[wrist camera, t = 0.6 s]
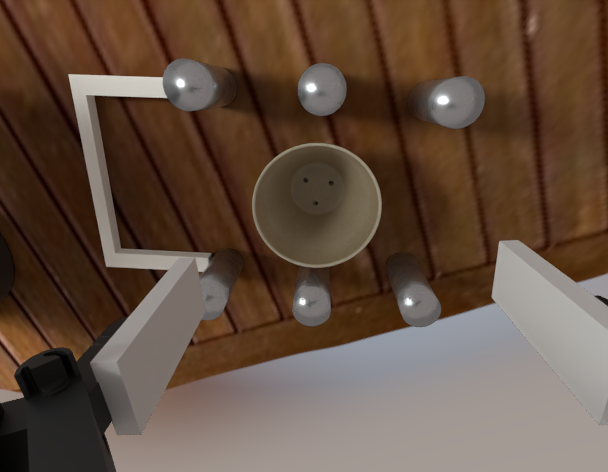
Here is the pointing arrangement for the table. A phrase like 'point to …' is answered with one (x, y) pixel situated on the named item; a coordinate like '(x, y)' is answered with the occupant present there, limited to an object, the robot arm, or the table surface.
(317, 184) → the flower pot
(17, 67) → the table surface
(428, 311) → the spacers
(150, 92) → the frame
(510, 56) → the table surface
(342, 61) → the table surface
